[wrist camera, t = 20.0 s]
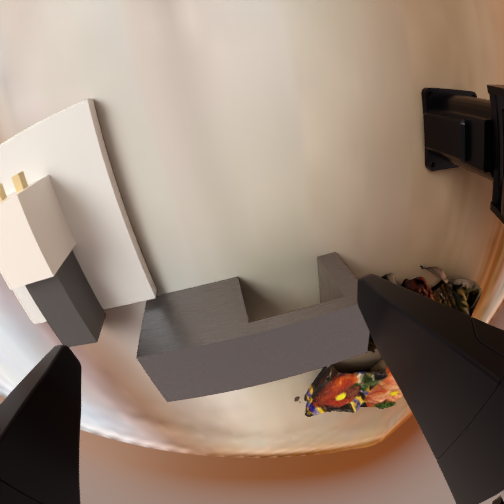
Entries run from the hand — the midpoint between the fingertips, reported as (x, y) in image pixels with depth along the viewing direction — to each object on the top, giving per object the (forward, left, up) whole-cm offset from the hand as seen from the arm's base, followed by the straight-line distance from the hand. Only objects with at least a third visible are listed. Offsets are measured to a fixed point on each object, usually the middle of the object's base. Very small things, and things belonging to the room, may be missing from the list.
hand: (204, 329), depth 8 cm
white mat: (+11, -1, -12) cm, 16 cm away
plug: (+11, +1, -11) cm, 16 cm away
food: (-16, +21, -13) cm, 29 cm away
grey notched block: (-1, +9, -12) cm, 15 cm away
